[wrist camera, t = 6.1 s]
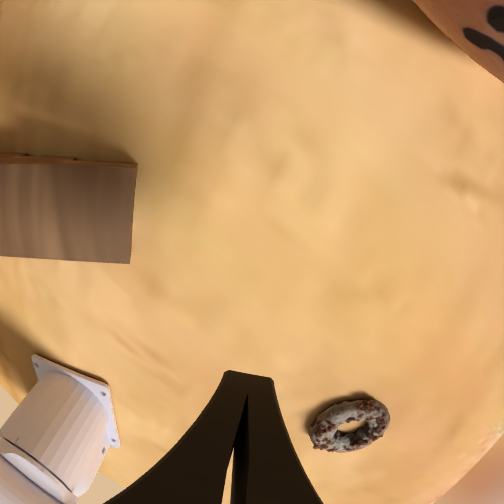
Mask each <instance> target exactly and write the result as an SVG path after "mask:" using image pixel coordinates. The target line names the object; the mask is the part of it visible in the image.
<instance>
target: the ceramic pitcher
mask: <svg viewBox="0 0 504 504" xmlns="http://www.w3.org/2000/svg"><path fill="white" fill-rule="evenodd" d="M413 1H414V2H415V3H416V4H417V6H418V7H419V8H420V9H421V10H422V11H423V12H424V13H425V14H426V16H427V17H428V18H429V19H430V20H431V21H432V22H433V23H434V24H435V25H436V26H437V27H438V28H439V29H440V30H441V31H442V32H443V33H444V34H445V35H446V36H447V37H449V38H450V39H451V40H452V41H453V42H454V43H455V44H456V45H457V46H458V47H460V48H461V49H462V50H463V51H464V52H465V53H466V54H467V55H469V56H470V57H471V58H472V59H473V60H474V61H475V62H477V63H478V64H479V65H481V66H482V67H483V68H485V69H486V70H487V71H488V72H490V73H491V74H492V75H494V76H495V77H497V78H498V79H499V80H501V81H502V82H503V83H504V0H413Z"/></svg>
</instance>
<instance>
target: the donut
mask: <svg viewBox="0 0 504 504" xmlns="http://www.w3.org/2000/svg"><path fill="white" fill-rule="evenodd" d="M360 420H365V421H367V423H366V424H365V425H364V426H363V427H361V428H358V429H357V430H356V431H355V432H351V433H341V432H340V431H338V426H339V425H340V424H343V423H345V422H347V423H349V422H351V421H360ZM389 422H390V415H389V413H388V409H387V408H386V406H385V405H383V404H381V403H380V402H378V401H375V400H355V401H352V400H349V401H346V400H344V401H342V402H340V403H334V404H333V405H332V406H331V407H329V408H328V409H326V410H325V411H322V412H321V413H320V414H319V415H318V417H317V418H316V419H315V420H314V422H313V424H312V425H310V431H309V436H310V439H311V441H312V442H313V444H314V447H313V449H319V448H320V450H323V449H325V450H327V451H329V452H350V451H356V450H359V449H362V448H364V447H367V446H368V445H370V444H371V443H372V442H374V441H375V440H377V439H378V438H380V437H382V436H383V433H384V432H385V430H386V429H387V428H388V425H389Z"/></svg>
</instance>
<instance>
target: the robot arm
mask: <svg viewBox="0 0 504 504" xmlns="http://www.w3.org/2000/svg"><path fill="white" fill-rule="evenodd" d="M31 359H32V363H33V366H34V369H35V372H36V375H37V378H38V382H37V383H36V384H35V386H34V387H33V388H32V389H31V391H30V392H29V393H28V394H27V395H26V397H25V398H24V399H23V400H22V402H21V403H20V404H19V406H18V407H17V408H16V409H15V411H14V412H13V413H12V414H11V416H10V417H9V418H8V420H7V421H6V422H5V424H4V425H3V426H2V428H1V429H0V504H76V502H77V500H78V496H81V495H82V494H84V493H85V492H86V491H87V490H88V489H89V488H90V486H91V484H92V482H93V480H94V478H95V475H96V473H97V471H98V469H99V467H100V465H101V463H102V461H103V459H104V457H105V455H106V453H107V451H108V449H109V447H110V446H112V447H115V448H120V446H121V444H120V439H119V435H118V430H117V426H116V421H115V416H114V411H113V405H112V400H111V394H110V388H109V386H108V385H107V384H105V383H103V382H101V381H98V380H95V379H93V378H90V377H87V376H85V375H82V374H80V373H77V372H75V371H72V370H70V369H68V368H65V367H63V366H61V365H58V364H56V363H54V362H51V361H49V360H47V359H45V358H43V357H40V356H38V355H36V354H33V356H32V357H31ZM233 448H234V454H233V469H232V485H231V500H230V504H323V502H322V501H321V499H320V497H319V496H318V494H317V493H316V491H315V489H314V487H313V486H312V484H311V482H310V480H309V479H308V477H307V475H306V473H305V471H304V469H303V467H302V465H301V463H300V460H299V458H298V456H297V454H296V452H295V449H294V447H293V445H292V442H291V440H290V437H289V434H288V432H287V429H286V426H285V423H284V420H283V417H282V414H281V411H280V408H279V404H278V400H277V396H276V392H275V387H274V381H273V380H272V379H271V378H269V377H264V376H258V375H252V374H247V373H241V372H236V371H231V370H228V371H226V372H224V375H223V378H222V380H221V382H220V384H219V386H218V388H217V390H216V391H215V393H214V395H213V396H212V398H211V400H210V401H209V403H208V404H207V406H206V407H205V408H204V410H203V411H202V413H201V414H200V415H199V417H198V418H197V419H196V421H195V422H194V423H193V425H192V426H191V427H190V428H189V429H188V431H187V432H186V433H185V434H184V435H183V436H182V438H181V439H180V440H179V441H178V442H177V443H176V444H175V445H174V446H173V448H172V449H171V450H170V451H169V452H168V453H167V454H166V455H165V456H164V457H163V458H162V459H160V460H159V461H158V462H157V463H156V464H155V465H154V466H153V467H152V468H151V469H150V470H148V471H147V472H146V473H145V474H144V475H142V476H141V477H140V478H139V479H138V480H136V481H135V482H134V483H133V484H131V485H130V486H129V487H127V488H126V489H125V490H123V491H122V492H120V493H119V494H117V495H116V496H114V497H113V498H111V499H110V500H108V501H107V502H105V503H103V504H221V503H222V497H223V491H224V485H225V479H226V473H227V468H228V465H229V462H230V458H231V455H232V451H233Z"/></svg>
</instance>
